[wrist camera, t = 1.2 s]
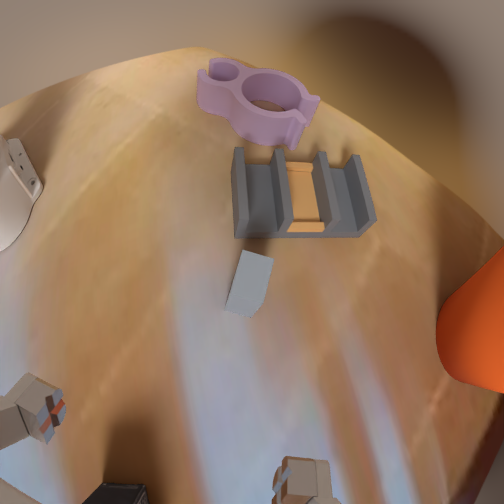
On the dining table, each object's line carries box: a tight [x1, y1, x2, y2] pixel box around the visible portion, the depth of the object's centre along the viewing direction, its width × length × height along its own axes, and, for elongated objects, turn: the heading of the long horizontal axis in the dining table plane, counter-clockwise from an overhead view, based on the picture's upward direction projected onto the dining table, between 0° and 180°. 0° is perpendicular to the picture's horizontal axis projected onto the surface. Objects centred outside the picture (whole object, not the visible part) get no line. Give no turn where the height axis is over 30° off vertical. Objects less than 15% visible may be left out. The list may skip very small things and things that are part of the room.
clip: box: [197, 58, 320, 150], centre depth 51 cm, size 20×12×7 cm, turn 63°
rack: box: [231, 147, 377, 238], centre depth 45 cm, size 19×11×6 cm, turn 94°
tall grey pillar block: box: [225, 250, 274, 318], centre depth 38 cm, size 4×5×9 cm
